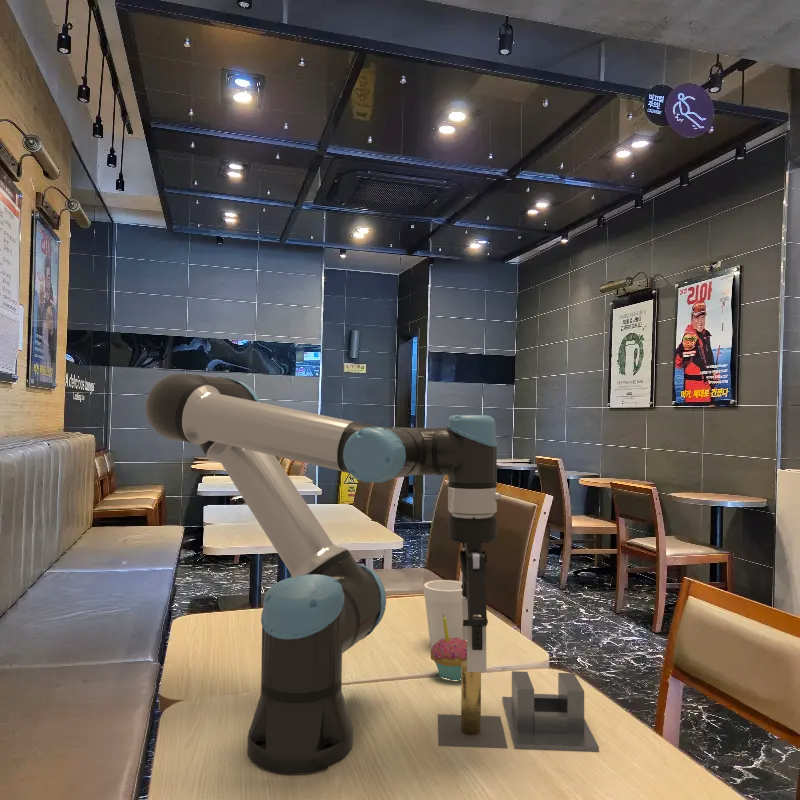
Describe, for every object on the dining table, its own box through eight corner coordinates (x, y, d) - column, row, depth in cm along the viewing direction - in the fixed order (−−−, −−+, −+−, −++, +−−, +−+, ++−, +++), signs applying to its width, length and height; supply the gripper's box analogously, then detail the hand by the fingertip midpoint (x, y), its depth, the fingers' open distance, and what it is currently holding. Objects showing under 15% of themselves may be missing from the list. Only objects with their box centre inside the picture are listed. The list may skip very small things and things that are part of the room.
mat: (438, 748, 92) (438, 745, 92) (437, 716, 102) (437, 714, 102) (507, 750, 91) (507, 748, 91) (500, 718, 101) (500, 716, 101)
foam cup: (468, 641, 138) (468, 580, 138) (468, 656, 128) (468, 592, 129) (424, 639, 139) (425, 579, 139) (421, 654, 129) (422, 590, 130)
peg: (461, 734, 95) (461, 667, 95) (460, 725, 98) (461, 659, 98) (481, 735, 95) (481, 667, 95) (479, 725, 98) (480, 660, 98)
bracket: (514, 751, 91) (514, 701, 91) (502, 702, 107) (502, 660, 107) (598, 754, 90) (598, 704, 91) (573, 705, 106) (573, 662, 107)
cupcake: (438, 689, 112) (439, 621, 113) (424, 671, 120) (424, 607, 121) (483, 684, 114) (483, 617, 115) (466, 667, 123) (466, 604, 123)
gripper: (506, 527, 85) (508, 687, 84) (489, 504, 110) (490, 628, 109) (450, 526, 85) (451, 686, 84) (446, 504, 110) (447, 627, 109)
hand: (473, 654), depth 97 cm, fingers open, 13 cm apart
